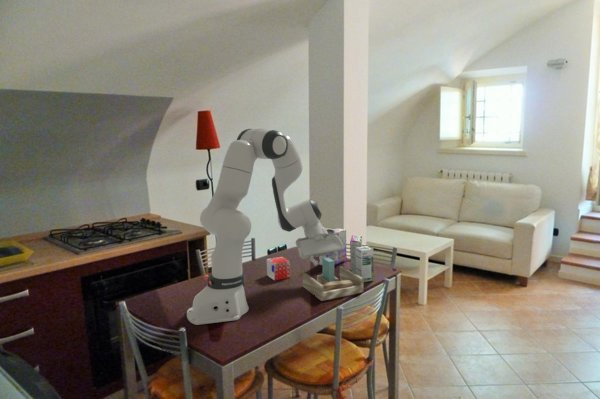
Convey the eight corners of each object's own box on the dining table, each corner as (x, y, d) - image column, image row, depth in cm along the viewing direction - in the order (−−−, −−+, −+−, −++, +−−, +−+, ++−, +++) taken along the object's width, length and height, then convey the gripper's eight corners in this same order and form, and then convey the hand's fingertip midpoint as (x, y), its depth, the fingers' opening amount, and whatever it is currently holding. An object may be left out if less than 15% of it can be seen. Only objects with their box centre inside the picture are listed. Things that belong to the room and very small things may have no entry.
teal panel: (329, 289, 175) (328, 261, 173) (322, 284, 181) (322, 257, 179) (334, 288, 176) (334, 260, 174) (327, 283, 182) (327, 257, 180)
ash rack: (321, 300, 164) (321, 286, 163) (302, 286, 179) (302, 273, 178) (363, 292, 171) (363, 278, 170) (342, 279, 187) (342, 266, 186)
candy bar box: (351, 268, 201) (351, 234, 199) (362, 268, 200) (362, 235, 198) (349, 276, 191) (349, 240, 188) (361, 276, 190) (361, 241, 187)
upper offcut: (323, 291, 168) (323, 285, 168) (321, 288, 172) (321, 282, 171) (352, 288, 170) (352, 282, 170) (349, 285, 174) (349, 279, 174)
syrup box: (361, 282, 182) (361, 250, 180) (355, 278, 188) (355, 246, 185) (373, 280, 184) (373, 248, 182) (367, 276, 189) (367, 245, 187)
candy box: (338, 258, 216) (338, 227, 214) (346, 261, 212) (346, 229, 209) (318, 264, 208) (318, 232, 205) (326, 267, 203) (326, 234, 200)
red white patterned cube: (290, 277, 191) (289, 260, 190) (274, 280, 187) (274, 263, 186) (282, 272, 198) (282, 256, 197) (267, 275, 194) (266, 259, 193)
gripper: (296, 235, 179) (306, 263, 172) (338, 229, 187) (349, 256, 180) (292, 243, 183) (302, 271, 176) (333, 237, 192) (344, 263, 185)
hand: (326, 263), depth 178 cm, fingers open, 8 cm apart
